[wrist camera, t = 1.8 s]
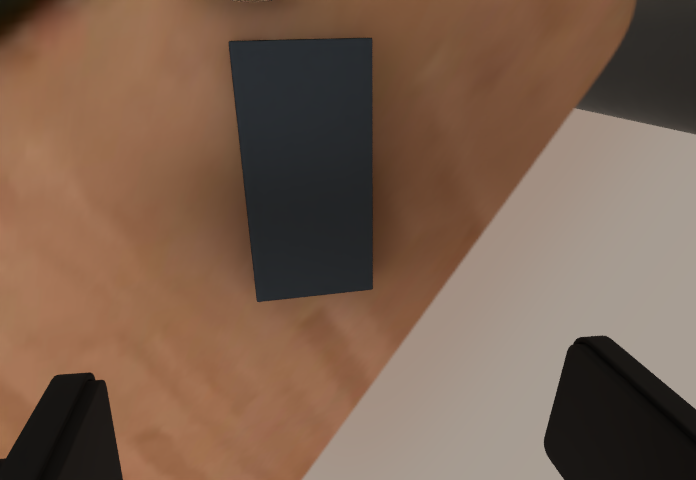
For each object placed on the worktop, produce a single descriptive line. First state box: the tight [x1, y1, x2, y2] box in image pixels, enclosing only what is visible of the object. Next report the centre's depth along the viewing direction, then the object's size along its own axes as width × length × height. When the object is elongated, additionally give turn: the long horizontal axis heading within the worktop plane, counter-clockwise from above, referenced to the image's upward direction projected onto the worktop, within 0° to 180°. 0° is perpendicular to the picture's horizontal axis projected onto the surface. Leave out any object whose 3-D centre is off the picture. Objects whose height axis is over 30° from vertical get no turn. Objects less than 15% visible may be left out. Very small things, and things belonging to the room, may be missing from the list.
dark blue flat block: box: [229, 38, 373, 302], centre depth 25 cm, size 6×13×2 cm, turn 1°
